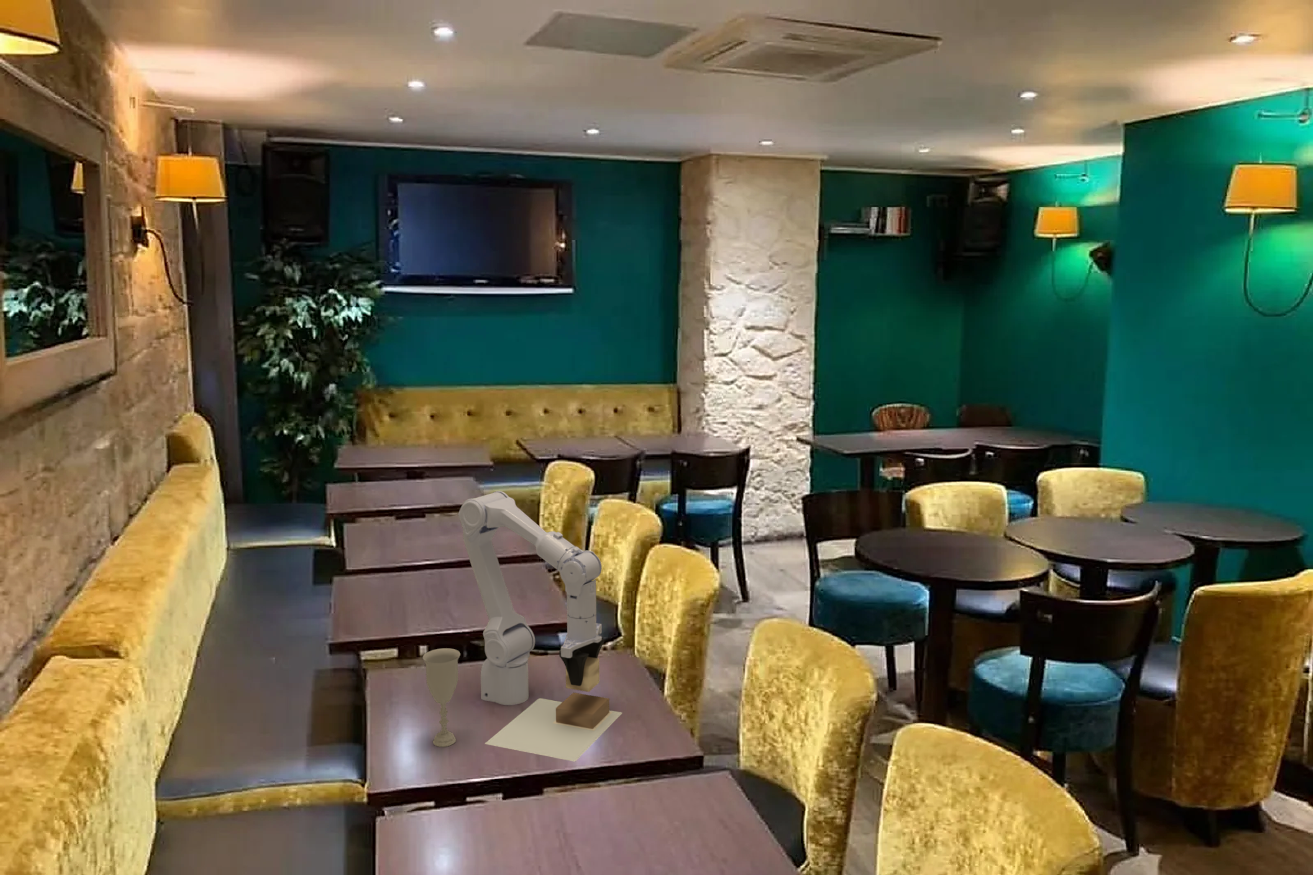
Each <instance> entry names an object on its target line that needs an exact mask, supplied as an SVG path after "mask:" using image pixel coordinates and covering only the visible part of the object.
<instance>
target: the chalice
mask: <svg viewBox="0 0 1313 875" xmlns="http://www.w3.org/2000/svg"><path fill="white" fill-rule="evenodd" d="M460 656H461V653H460V651H459V650H457V649H454V648H447V647H446V648H437V649H432V650H430V651H428V652H426V653H424V655H422V660H423V662H424V663H425V673H426V674H425V675H426V677H425V679H426V685H427V688H428V689H429V693H430V694H431V696H432V698H433V699H434V701H435V702H436V703H437V704H439V705H440V711H439V715H440V716H441V717H440V721H439V722H438V723H439V724H440V726H441V730H440V731H438V733H436V734H435V736H434V739H433V741H432V743H433V745H434V746H435V747H439V748H446V747H450V746H452V745H454V744H455V743H456V742H457V739H456V737H455V735H454V733H452V731H449V730H448V728H447V726H448V723H449V722H450V721H449V720H448V718H447V714H448V713H449V712H448V710H447V703H449V702H451V700H452V698H453V695H454V693H455V691H456V688H457V685H458V681H459V663H458V662H459V658H460Z"/></svg>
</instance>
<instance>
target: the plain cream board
mask: <svg viewBox="0 0 1313 875" xmlns="http://www.w3.org/2000/svg"><path fill="white" fill-rule="evenodd" d="M562 702H563V701H557V700H552V699H546V698H541V697H539V698H538V699H536V700H535V701H534V702H532V703H531V704H530V705H529V706H527V708H526V709H524V710H523V711H522V712H521V713H519V714H518V715H517V716H516V717H515V718H514V719H512V720H511V721H510V722H509V723H507V724H506V725H505V726H504V727H502V728H501V730H499V731H498V732H497V733H496V734H494V735H493V736H492V737H491V738H489V739H488V741H486V742H485V743H484V745H488V746H493V747H494V746H495V747H499V748H504V749H509V750H515V751H519V752H525V753H528V754H529V753H530V754H533V755H534V754H535V755H540V756H545V757H550V758H554V759H560V760H564V761H571V762H573V763H574V762H576V761H578V759H580V758H581V757H582V755H583V754H584V753H585V752H586V751H587V750H588V749H589V748H590V747H591V746H592V745H593V744H594V743H595V742H596V741H597V739H599V738H600V737H601V736H602V735H603V734H604V733H605V732H606V730H608V728H610V726H611V725H613V723H614V722H615V721H616V720H617V719H618V718H619V717H620V716H621V715H622V714H623V712H621V711H615V710H610V709H609V713H608V714H607V715H606V716H605V717H604V718H603V719H602V720H601V721H600V722H599V723H598V724H597V725H596V726H595V727H594V728H593V729H589V728H584V727H579V726H573V725H568V724H562V723H557V722H556V707H558V706H559V705H560V704H561V703H562Z"/></svg>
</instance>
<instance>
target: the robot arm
mask: <svg viewBox="0 0 1313 875" xmlns="http://www.w3.org/2000/svg"><path fill="white" fill-rule="evenodd" d="M457 516H458V519H459V522H460V526H461V527H462V540H463V543H464V544H463V545H464V547H465V549H466V550H465V551H466V553H467V556H468V559H469V562H470V565H471V569H472V571H473V576H474V578H475V581H476V584H477V587H478V590H479V593H480V596H481V599H482V602H483V606H484V608H485V609H484V610H485V612H486V615H487V618H488V622H487V624H486V626H485V628H484V630H483V633H482V635H483V638H484V653H485V656H486V659H485V660H484V662H483V663H482V666H481V669H480V698H481V700H482V701H486V702H487V701H488V702H493V703H496V704H498V705H502V706H503V705H504V706H514V705H520V704H523V703H525V702H526V701H527V700H529V695H530V694H529V658H530V657H531V656H530V655H531V654H530V652H531V651H532V650H533V649H534V648H535V646H536V645H535V644H536V638H535V634H534V632H533V630H532V629H531V627H530V626H529V625H528V623H527V620H526V618H525V617H524V616H523V615H521V614H520V613H517V612H516V611H515V609H514V607H513V606H514V605H513V603H512V600H511V596H510V593H509V590H508V587H507V585H506V584H507V583H506V582H505V577H504V575H503V571H502V568H501V566H500V563H499V559H498V557H497V554H496V550H495V547H494V544H493V541H492V540H493V538H494V537H495V535H496V532H497V530H498V529H499V528H504V527H505V528H507V529H509V530H510V531H512V532H513V533H515V534H516V535H517V536H519V537H521V538H523V539H524V540H526V541H527V542H529V543H530V544H532V545H533V546H535V552H536V555H537V556H538V557H539V558H541V559H543V560H544V561H545V562H546V563H548V564H549V565H550V566H552V567H553V568H554V569H556V570H557V571H558V572H559V574H560V578H561V580H562V582H563V584H564V587H565V588H564V589H565V592H566V607H567V608H566V612H567V613H566V619H567V620H566V621H567V623H566V626H567V630H566V631H567V634H566V635H565V640H564V642H563V645H561V647H560V650H559V652H558V655H559V658H560V659H561V661H562V663H563V664H564V666H565V670H566V669H567V672H568V676H569V679H570V683H571V685H576V686H581V685H582V681H583V673H584V666H585V662H586V659H587V657H592V658H598V659H599V654H600V652H601V649H602V647H603V645H604V644H605V639H604V638H603V637H602V635H601V634H602V629H603V628H602V623H598V622H597V578H598V577H599V576H600V575H601V573H602V562H601V559H600V558H599V556H598V555H597V554H596V553H595V552H594V551H592V550H582V549H580V548H579V547H578V546H576V545H574V544H573V543H571V542H570V541H568V540H567V539H566V538H565V537H563V536H564V534H562V533H561V532H560V531H557V532H556V531H554V530H552V531H547V532H546V531H545V530H544V529H543V528H542V527H541V526H540V525H538V524H537V522H535V521H534V520H533V519H531V517H529V515H527V514H526V513H525V512H523V510H522V509H520V508H519V507H518V506H517V505H516V501H515V499H514V498H513V497H510V496H509V495H508V494H507V493H506V492H504V491H502V490H496V491H493V492H492V493H488V494H486V495H485V494H484V495H482V496H481V495H480V496H478V497H475V498H473V497H472V498H468V499H466V500H465V501H464V502H463V503H462V505H461V507H460V508H459V511H458V513H457Z"/></svg>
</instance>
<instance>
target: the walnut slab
mask: <svg viewBox="0 0 1313 875" xmlns="http://www.w3.org/2000/svg"><path fill="white" fill-rule="evenodd" d="M561 702H562V703H561V704H560V705H559V706H558V707H556V722H557V723H562V724H568V725H573V726H579V727H584V728H589V729H593V728H594V727H595V726H596V725H597V724H598V723H599V722H600V721H601V720H602V719H603V718H604V717H605V716H606V715H607V714H608V713H609V710H610V698H609V697H604V696H597V695H590V694H585V693H580V692H574V691H573V692H572V693H571V694H570V695H569V696H567V698H566V699H564V700H563V701H561Z"/></svg>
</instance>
